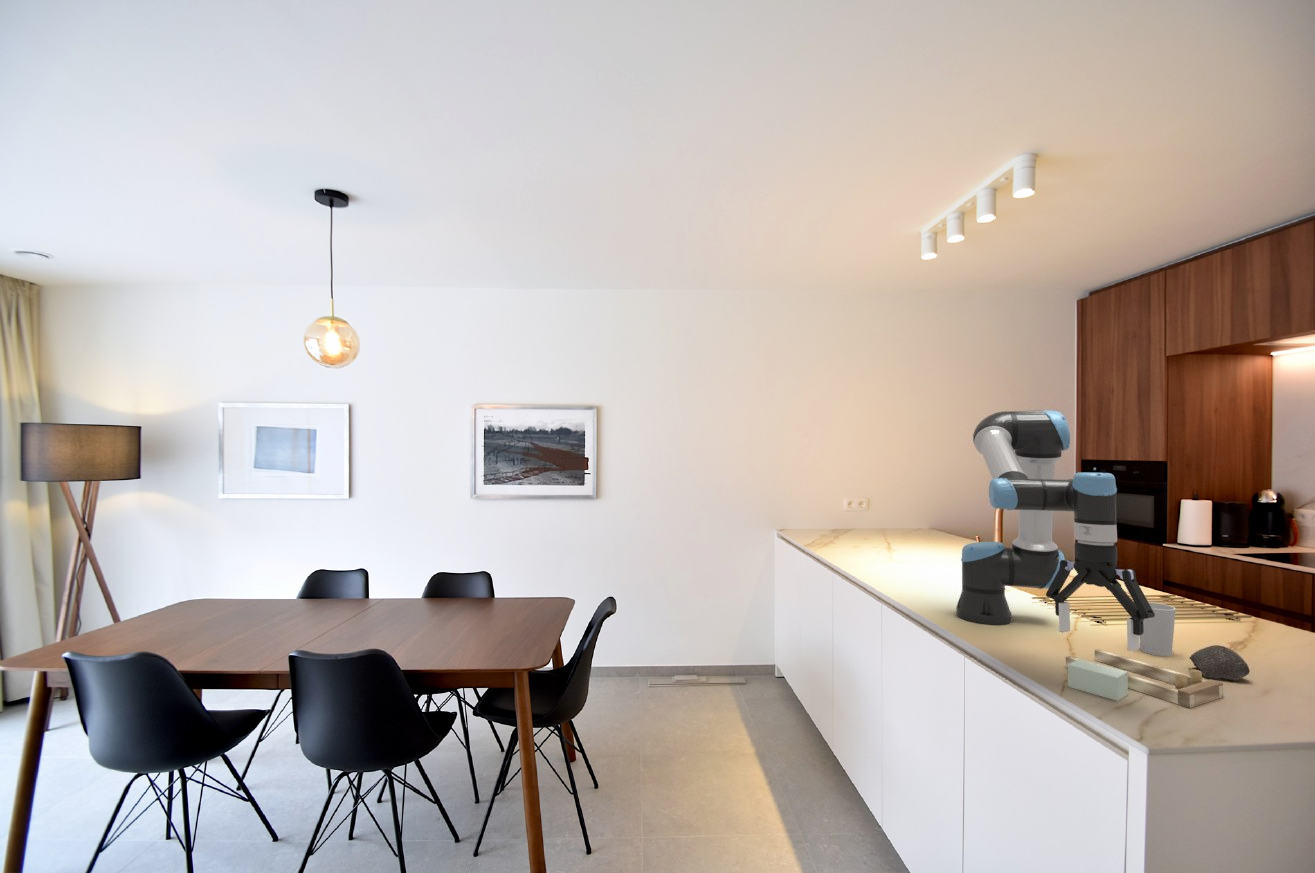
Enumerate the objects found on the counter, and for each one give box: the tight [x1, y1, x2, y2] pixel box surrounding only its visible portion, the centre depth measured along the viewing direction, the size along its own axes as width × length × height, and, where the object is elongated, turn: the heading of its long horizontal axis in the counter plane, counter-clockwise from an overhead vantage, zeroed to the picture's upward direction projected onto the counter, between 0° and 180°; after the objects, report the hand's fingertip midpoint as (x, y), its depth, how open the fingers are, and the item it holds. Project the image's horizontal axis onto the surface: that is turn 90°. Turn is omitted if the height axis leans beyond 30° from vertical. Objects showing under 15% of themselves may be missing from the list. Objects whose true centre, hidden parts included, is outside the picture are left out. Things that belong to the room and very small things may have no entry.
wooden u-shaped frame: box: [1065, 648, 1224, 709], centre depth 131 cm, size 24×13×5 cm, turn 24°
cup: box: [1139, 601, 1177, 658], centre depth 150 cm, size 8×8×12 cm
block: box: [1067, 658, 1129, 702], centre depth 126 cm, size 9×6×5 cm, turn 35°
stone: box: [1189, 644, 1251, 682], centre depth 134 cm, size 10×8×10 cm
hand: (1097, 640), depth 126 cm, fingers open, 13 cm apart
